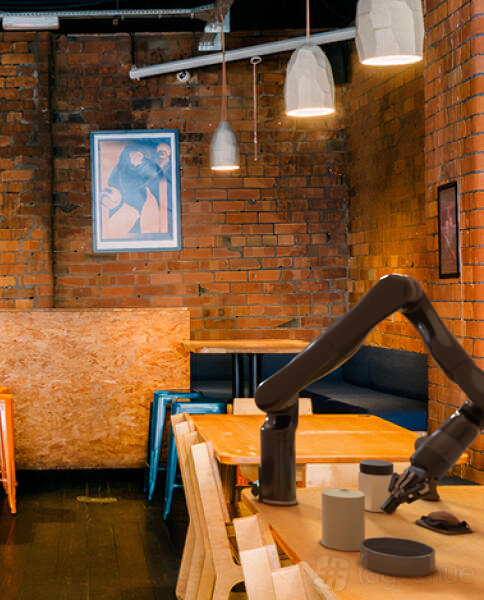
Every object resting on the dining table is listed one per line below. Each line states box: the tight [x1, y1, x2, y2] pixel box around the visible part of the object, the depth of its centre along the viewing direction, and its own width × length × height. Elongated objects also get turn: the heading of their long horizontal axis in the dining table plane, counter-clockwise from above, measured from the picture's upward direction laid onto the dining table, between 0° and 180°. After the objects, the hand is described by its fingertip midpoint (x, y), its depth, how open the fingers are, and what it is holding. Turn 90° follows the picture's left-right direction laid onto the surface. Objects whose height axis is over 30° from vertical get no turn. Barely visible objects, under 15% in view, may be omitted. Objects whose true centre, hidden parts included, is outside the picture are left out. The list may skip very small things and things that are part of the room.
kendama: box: [413, 425, 441, 501], centre depth 217 cm, size 6×10×20 cm, turn 165°
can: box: [320, 487, 366, 552], centre depth 176 cm, size 9×9×12 cm
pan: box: [359, 536, 437, 578], centre depth 161 cm, size 14×14×4 cm
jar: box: [357, 459, 394, 513], centre depth 207 cm, size 9×8×12 cm
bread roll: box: [414, 510, 473, 535], centre depth 189 cm, size 11×8×4 cm
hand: (384, 511), depth 177 cm, fingers closed
